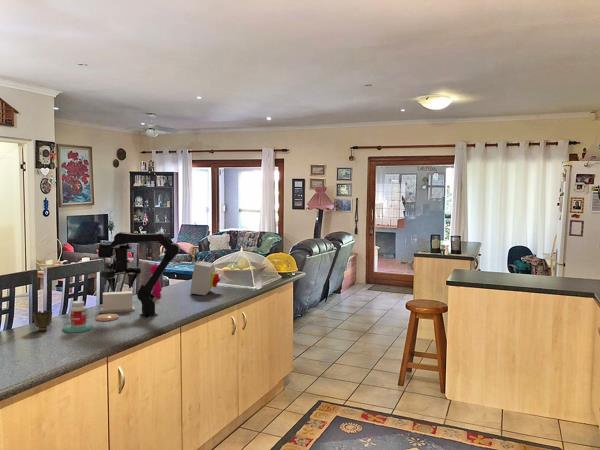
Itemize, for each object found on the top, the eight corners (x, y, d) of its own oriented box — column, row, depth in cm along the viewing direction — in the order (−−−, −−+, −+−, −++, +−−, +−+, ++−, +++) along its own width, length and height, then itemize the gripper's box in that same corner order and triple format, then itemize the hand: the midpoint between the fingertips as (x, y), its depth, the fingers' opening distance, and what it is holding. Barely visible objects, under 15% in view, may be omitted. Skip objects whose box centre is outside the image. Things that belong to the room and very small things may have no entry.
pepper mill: (158, 298, 278) (158, 263, 277) (146, 297, 280) (146, 263, 278) (164, 295, 285) (164, 261, 284) (152, 294, 287) (152, 261, 285)
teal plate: (98, 328, 217) (98, 326, 217) (71, 334, 208) (71, 332, 208) (83, 323, 225) (83, 321, 224) (57, 329, 215) (57, 326, 215)
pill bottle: (67, 327, 214) (67, 302, 213) (77, 323, 220) (77, 299, 219) (79, 329, 212) (78, 304, 212) (89, 325, 218) (88, 301, 217)
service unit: (134, 310, 249) (134, 293, 249) (100, 313, 244) (100, 295, 243) (134, 307, 256) (134, 290, 255) (101, 309, 250) (101, 292, 250)
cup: (32, 333, 208) (32, 315, 207) (33, 329, 214) (32, 311, 214) (52, 331, 211) (52, 313, 211) (52, 327, 218) (52, 309, 217)
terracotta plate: (122, 318, 235) (122, 316, 235) (103, 322, 227) (103, 320, 227) (110, 314, 241) (110, 312, 241) (91, 318, 233) (91, 316, 233)
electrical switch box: (214, 299, 288) (219, 266, 286) (189, 295, 288) (194, 262, 286) (218, 294, 302) (223, 262, 301) (195, 290, 302) (200, 258, 301)
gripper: (128, 254, 249) (128, 284, 250) (94, 258, 234) (94, 290, 236) (141, 256, 243) (141, 287, 244) (107, 260, 228) (107, 293, 229)
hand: (121, 289), depth 238 cm, fingers open, 9 cm apart
